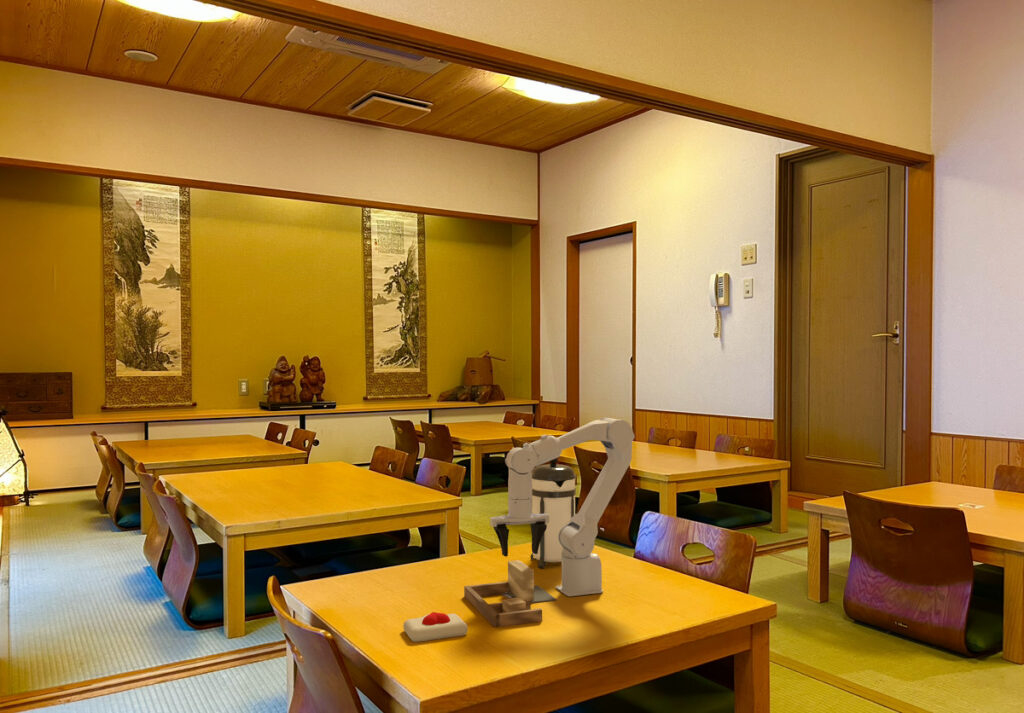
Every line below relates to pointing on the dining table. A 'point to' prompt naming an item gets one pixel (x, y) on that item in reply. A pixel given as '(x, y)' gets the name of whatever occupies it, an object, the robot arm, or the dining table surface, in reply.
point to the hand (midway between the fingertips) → (519, 554)
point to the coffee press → (553, 506)
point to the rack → (499, 605)
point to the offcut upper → (513, 605)
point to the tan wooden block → (521, 580)
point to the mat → (538, 595)
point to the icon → (435, 627)
